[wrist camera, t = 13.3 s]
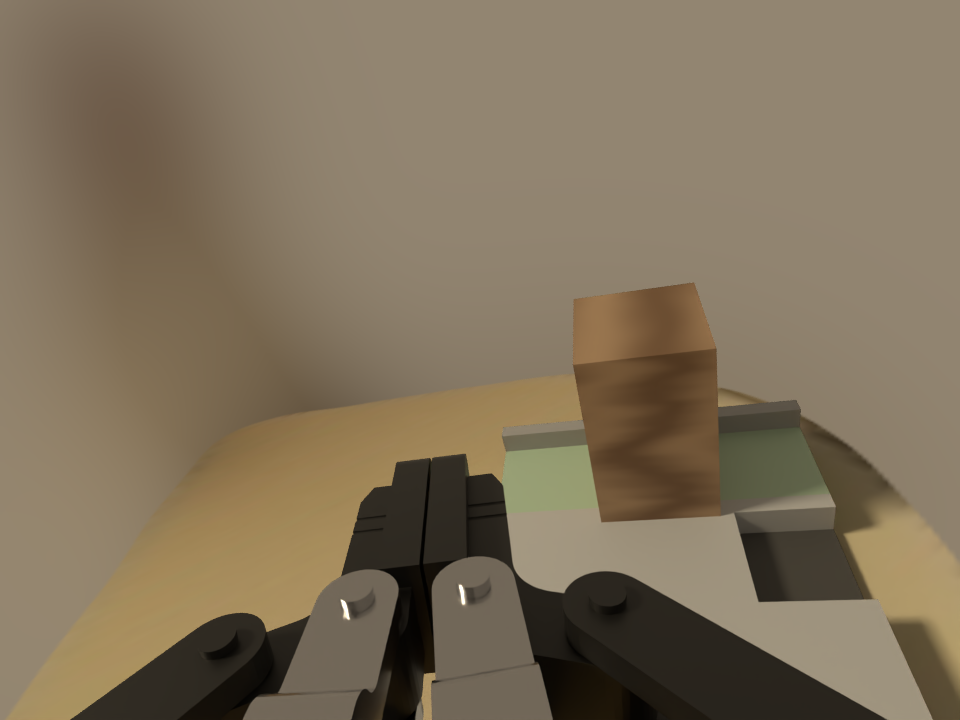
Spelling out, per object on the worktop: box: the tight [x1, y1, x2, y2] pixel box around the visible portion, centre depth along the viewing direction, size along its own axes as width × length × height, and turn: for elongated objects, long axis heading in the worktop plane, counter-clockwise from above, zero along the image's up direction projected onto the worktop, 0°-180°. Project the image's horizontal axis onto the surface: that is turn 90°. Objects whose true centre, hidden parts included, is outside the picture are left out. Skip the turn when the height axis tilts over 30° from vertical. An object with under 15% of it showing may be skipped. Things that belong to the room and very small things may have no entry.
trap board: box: [502, 400, 933, 720], centre depth 32 cm, size 20×31×4 cm, turn 172°
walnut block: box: [573, 283, 721, 523], centre depth 37 cm, size 7×7×12 cm
